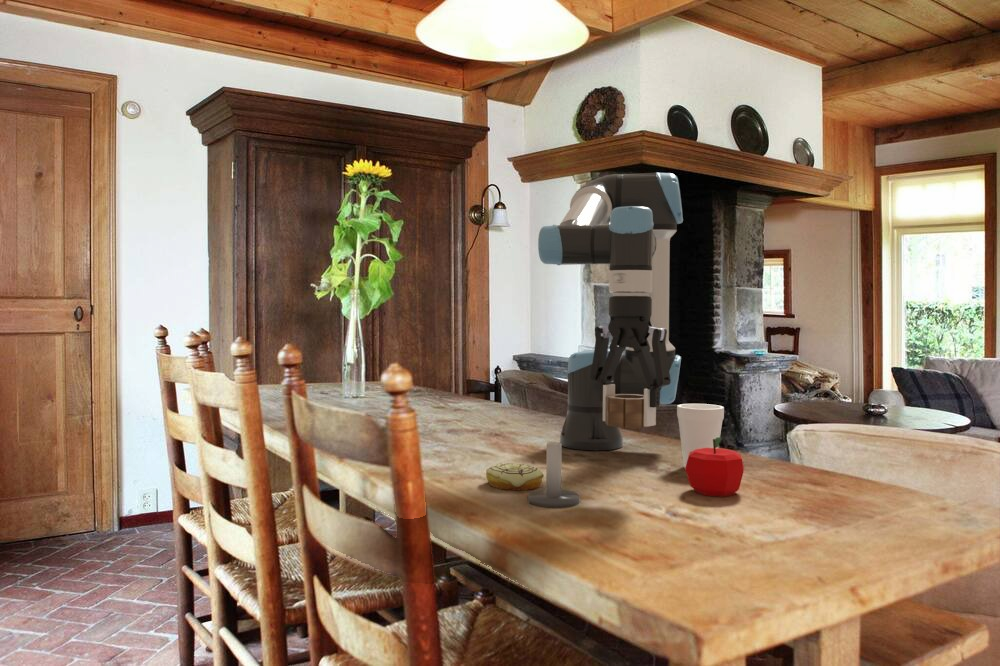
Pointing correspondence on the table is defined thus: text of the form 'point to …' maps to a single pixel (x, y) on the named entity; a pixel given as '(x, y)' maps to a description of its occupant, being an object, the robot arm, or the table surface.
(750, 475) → the table surface
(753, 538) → the table surface
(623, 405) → the ring
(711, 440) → the foam cup
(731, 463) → the apple
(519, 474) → the decorated donut
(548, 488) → the post
